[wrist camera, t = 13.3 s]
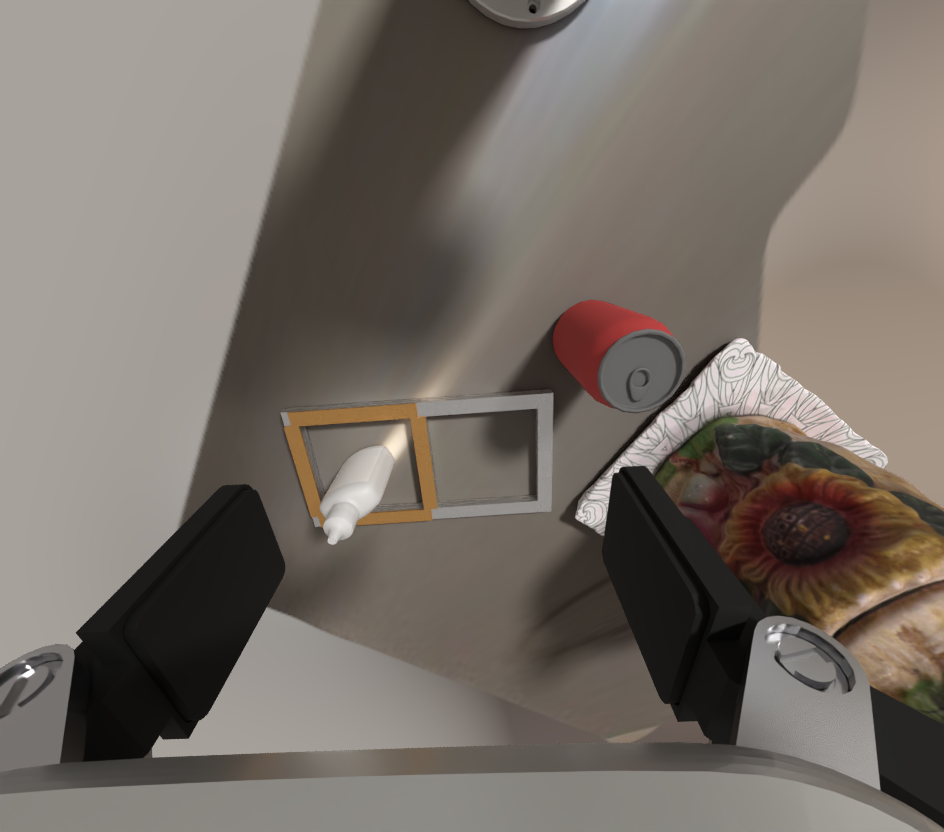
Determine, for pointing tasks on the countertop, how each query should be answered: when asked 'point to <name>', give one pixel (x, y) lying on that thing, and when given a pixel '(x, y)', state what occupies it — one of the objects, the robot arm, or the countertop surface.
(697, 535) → the robot arm
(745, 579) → the cookie jar
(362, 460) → the eye dropper bottle
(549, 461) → the rail
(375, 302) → the countertop surface
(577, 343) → the beer can
